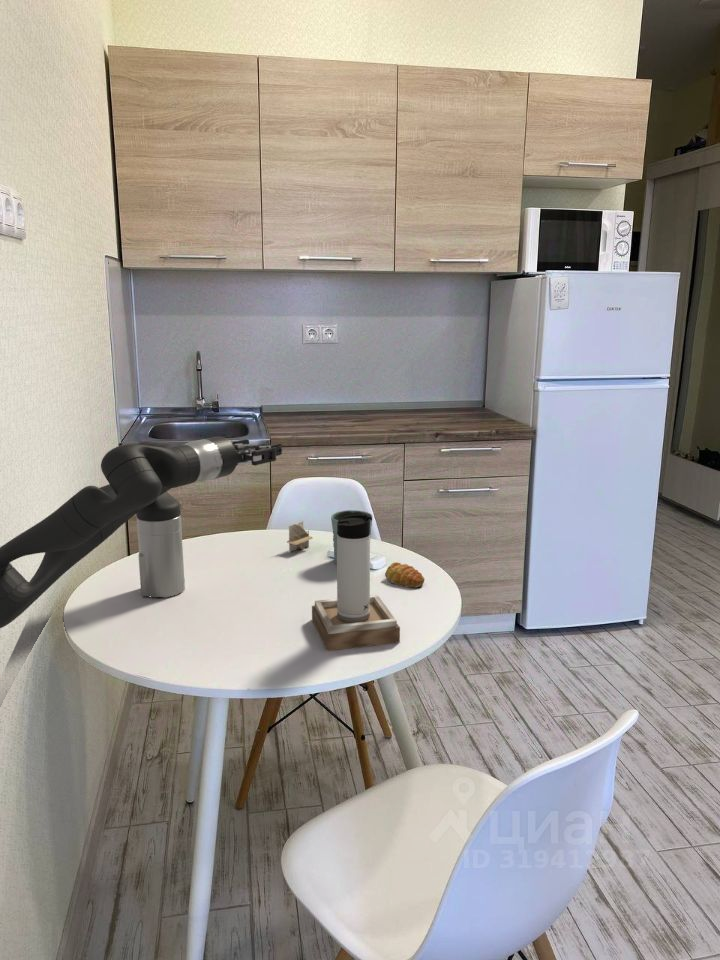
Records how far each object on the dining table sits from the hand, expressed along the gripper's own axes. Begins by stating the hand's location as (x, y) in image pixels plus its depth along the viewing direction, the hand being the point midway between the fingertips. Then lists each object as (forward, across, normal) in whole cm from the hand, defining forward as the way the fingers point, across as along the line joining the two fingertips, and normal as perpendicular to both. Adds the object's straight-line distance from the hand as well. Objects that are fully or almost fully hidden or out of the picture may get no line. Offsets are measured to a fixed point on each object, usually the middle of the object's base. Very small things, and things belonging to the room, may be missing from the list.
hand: (264, 446), depth 142 cm
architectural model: (+32, -17, -35) cm, 50 cm away
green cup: (+32, 0, -34) cm, 47 cm away
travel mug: (0, +22, -31) cm, 38 cm away
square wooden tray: (0, +22, -34) cm, 40 cm away
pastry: (+29, +17, -34) cm, 48 cm away
